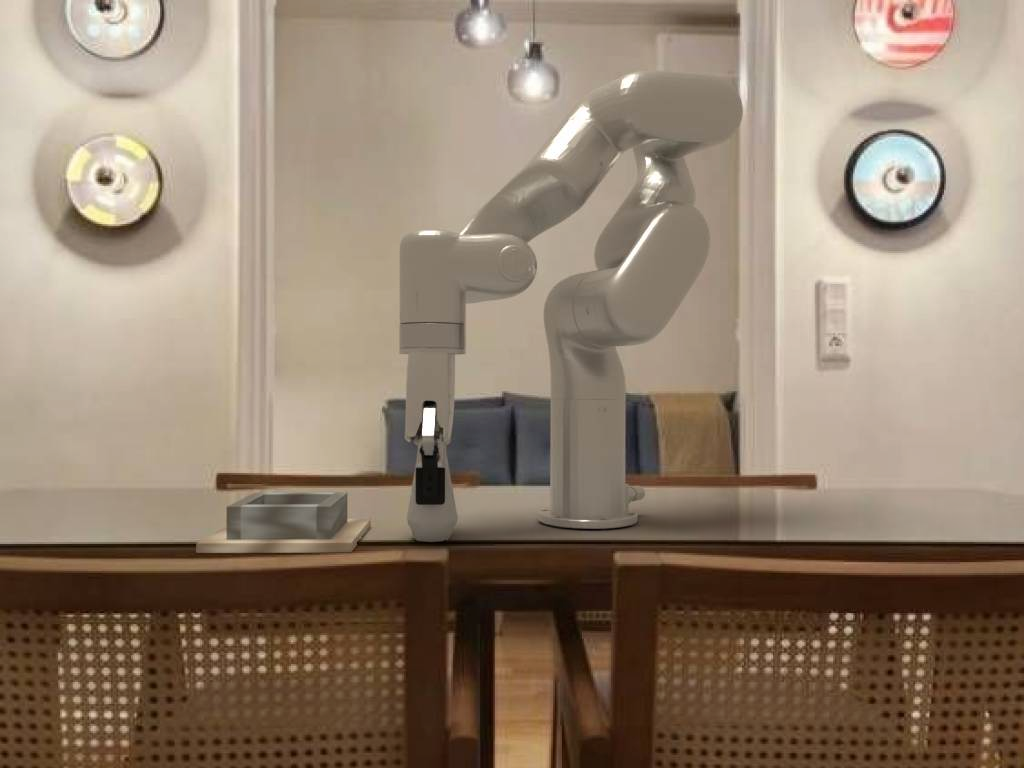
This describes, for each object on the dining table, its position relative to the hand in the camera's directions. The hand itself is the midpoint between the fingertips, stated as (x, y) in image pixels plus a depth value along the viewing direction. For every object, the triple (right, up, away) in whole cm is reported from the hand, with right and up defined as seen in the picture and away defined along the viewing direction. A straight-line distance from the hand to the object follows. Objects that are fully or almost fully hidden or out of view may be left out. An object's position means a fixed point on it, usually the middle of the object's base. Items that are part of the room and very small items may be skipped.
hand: (432, 498), depth 95 cm
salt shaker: (0, -5, 0) cm, 5 cm away
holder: (-16, -5, -1) cm, 17 cm away
